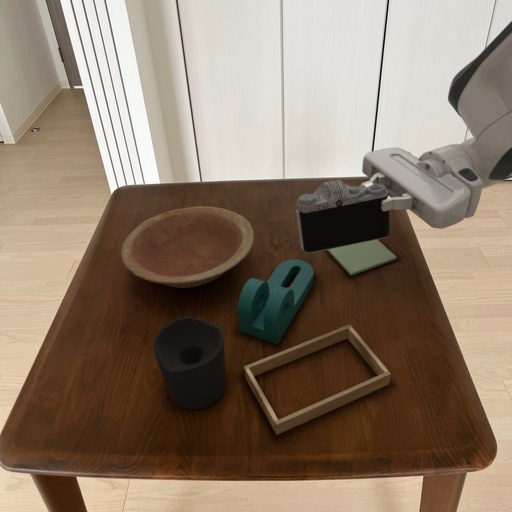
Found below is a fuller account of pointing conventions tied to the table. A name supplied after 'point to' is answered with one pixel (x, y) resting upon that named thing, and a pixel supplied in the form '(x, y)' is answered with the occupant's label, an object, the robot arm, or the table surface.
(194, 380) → the pen holder
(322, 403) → the rectangular wooden frame
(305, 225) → the camera
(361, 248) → the mat
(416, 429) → the table surface
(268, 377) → the table surface
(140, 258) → the bowl
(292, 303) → the bracket
